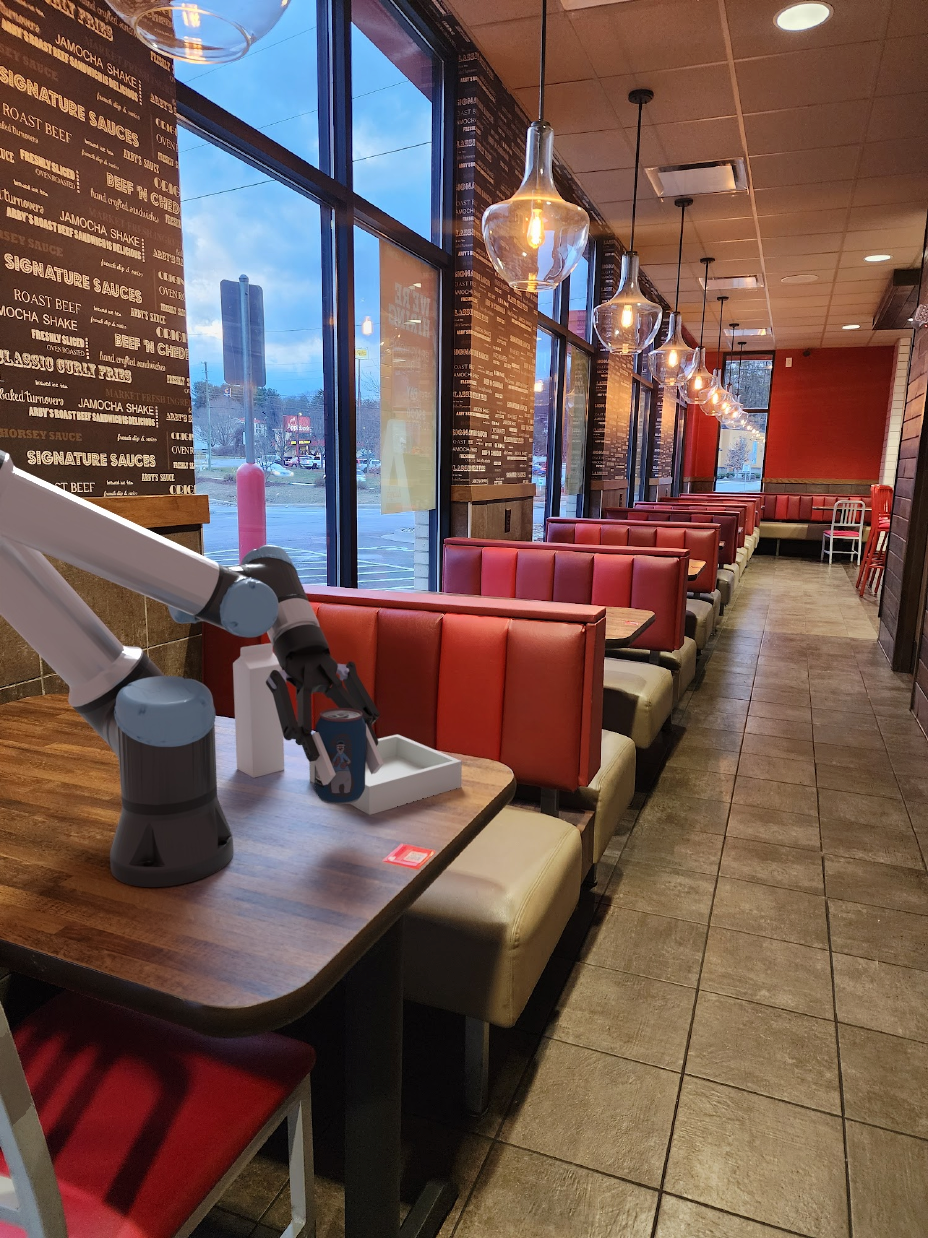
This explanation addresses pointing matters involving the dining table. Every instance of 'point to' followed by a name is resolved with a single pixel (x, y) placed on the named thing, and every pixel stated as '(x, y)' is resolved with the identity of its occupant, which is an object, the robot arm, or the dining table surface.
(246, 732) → the milk
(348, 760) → the soda can
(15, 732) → the dining table surface
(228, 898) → the dining table surface
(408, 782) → the box
